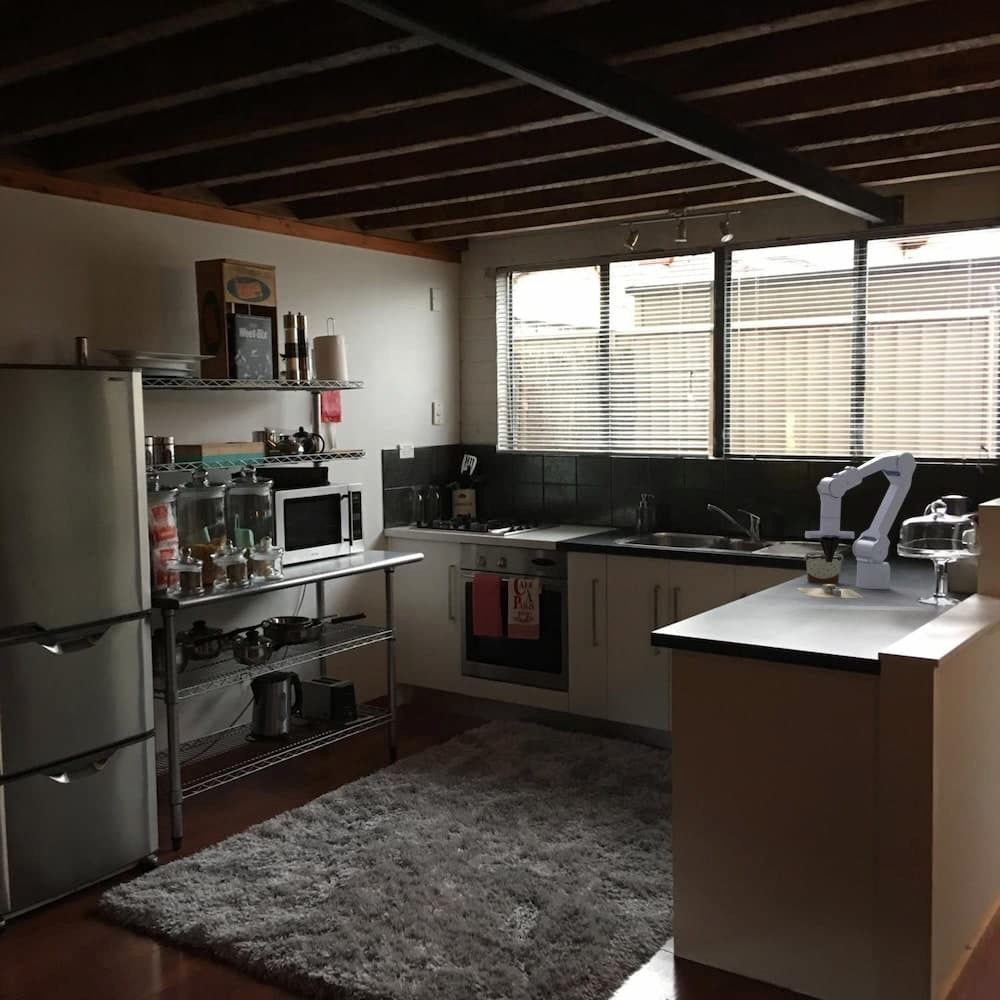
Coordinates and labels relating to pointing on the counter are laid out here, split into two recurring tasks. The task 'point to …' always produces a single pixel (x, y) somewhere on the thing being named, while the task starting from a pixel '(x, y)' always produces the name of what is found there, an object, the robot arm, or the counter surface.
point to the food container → (823, 567)
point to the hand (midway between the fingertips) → (828, 561)
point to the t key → (831, 590)
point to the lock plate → (820, 593)
